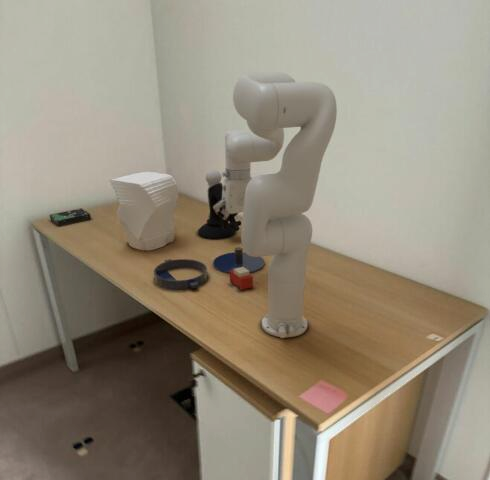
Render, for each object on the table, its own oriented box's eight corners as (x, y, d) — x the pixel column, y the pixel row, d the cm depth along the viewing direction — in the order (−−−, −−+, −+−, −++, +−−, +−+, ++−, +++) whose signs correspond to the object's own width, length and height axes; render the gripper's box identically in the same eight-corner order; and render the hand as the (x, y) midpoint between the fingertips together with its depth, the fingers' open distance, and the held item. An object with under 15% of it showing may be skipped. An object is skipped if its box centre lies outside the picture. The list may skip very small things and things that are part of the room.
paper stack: (113, 245, 180) (102, 177, 166) (167, 227, 197) (161, 164, 183) (146, 260, 168) (137, 188, 154) (201, 239, 185) (197, 173, 171)
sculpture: (222, 224, 200) (220, 164, 187) (254, 240, 184) (254, 175, 170) (191, 231, 193) (187, 169, 180) (221, 249, 176) (219, 182, 163)
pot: (170, 299, 142) (169, 289, 140) (144, 272, 159) (143, 263, 157) (220, 286, 149) (219, 276, 148) (190, 261, 166) (190, 252, 164)
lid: (228, 280, 153) (228, 263, 150) (204, 261, 166) (203, 245, 163) (274, 268, 161) (274, 252, 157) (248, 251, 174) (247, 235, 171)
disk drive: (82, 214, 214) (50, 220, 206) (81, 208, 212) (48, 214, 204) (91, 219, 207) (58, 226, 199) (90, 213, 205) (57, 220, 197)
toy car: (252, 289, 147) (252, 272, 144) (241, 292, 146) (241, 275, 142) (241, 280, 153) (240, 263, 150) (229, 283, 151) (229, 266, 148)
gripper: (218, 180, 135) (220, 236, 144) (268, 172, 142) (267, 226, 151) (207, 174, 140) (209, 229, 149) (255, 167, 148) (255, 219, 157)
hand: (238, 227), depth 150 cm, fingers open, 9 cm apart
